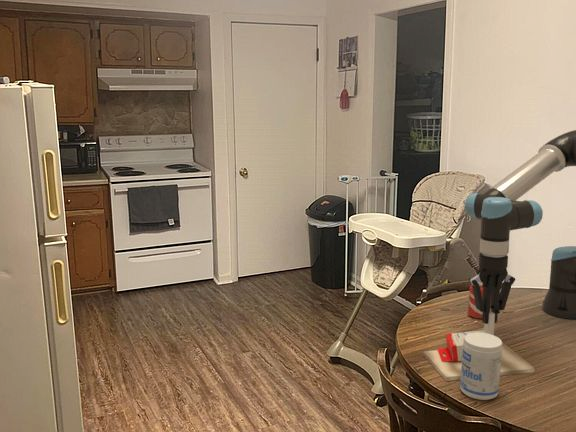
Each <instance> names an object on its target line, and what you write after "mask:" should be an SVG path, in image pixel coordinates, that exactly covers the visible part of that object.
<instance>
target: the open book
mask: <svg viewBox="0 0 576 432" xmlns="http://www.w3.org/2000/svg"><path fill="white" fill-rule="evenodd" d="M443 355H444V357H446V354H445V353H443ZM422 356H423V357H424V358H425V359H426V360H427V362H429V364H430V365H431V366H432V368H434V369H435V370H436V372H437V373H439V375H440V376H441V377H442V378H443V379H444V380H445V381H446V382H450V381H459V380H461V366H462V361H449V362H442V360H441V358H440V355H439V352H438V350H426V351H423V354H422ZM535 372H536V368H535V367H534V366H533V365H531V363H529V362H528V361H527V360H525V359H524V358H523V357H522V356H521V355H520V354H518V353H516V351H514V350H513V349H512V348H510V347H509V346H508V345H507V344H505V343H502V358H501V369H500V377H501V376H511V375H520V374H521V375H523V374H530V373H535Z"/></svg>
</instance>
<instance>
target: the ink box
mask: <svg viewBox="0 0 576 432" xmlns="http://www.w3.org/2000/svg"><path fill="white" fill-rule="evenodd" d="M476 332H479V333H485V332H484V329H482V330H472V331H471V330H470V331H464V332H455V333H454V332H452V333H446V334H445V339H446V340H445V341H446V348H445V347H444V348H437V350H438V352H439V355H440V358H441V360H442V362H449V361H462V352H463V342H464V337H465V336H466V335H467V334H470V333H476ZM443 353H445V354H446V357H444V355H443Z"/></svg>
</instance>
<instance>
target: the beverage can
mask: <svg viewBox="0 0 576 432" xmlns="http://www.w3.org/2000/svg"><path fill="white" fill-rule="evenodd" d="M479 281H480V284H479V286H480V289H481V295H482V299H483V287H482V284H483V283H482V282H481V280H479ZM467 314H468V315H469V316H470V317H471V318H473V319H481V320H482V314H483V312H481V311H479V310H478V309H477V308H476V304H475V299H474V293H473V288H472V285H471V284H470V286H469V291H468V309H467Z"/></svg>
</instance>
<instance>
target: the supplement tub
mask: <svg viewBox="0 0 576 432" xmlns="http://www.w3.org/2000/svg"><path fill="white" fill-rule="evenodd" d="M502 344H503V341H502V340H501V338H499V337H498V336H497V335H491V334H487V333H479V332H476V333H470V334H467V335H466V336H465V337H464V342H463V352H462V366H461V380H460V381H459V382H460V383H459V384H460V385H459V388H460V390H461V392H462V393H463V394H464V395H465V396H466V397H469V398H471V399H475V400H479V401H488V400H493V399H495V398H497V396H498V394H499V392H500V391H499V389H500V378H501V376H500V369H501V358H502Z"/></svg>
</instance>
